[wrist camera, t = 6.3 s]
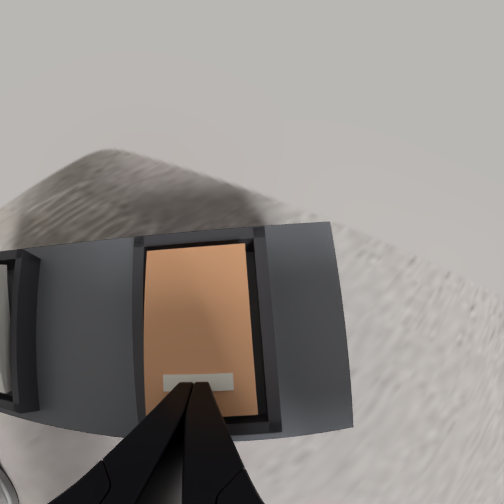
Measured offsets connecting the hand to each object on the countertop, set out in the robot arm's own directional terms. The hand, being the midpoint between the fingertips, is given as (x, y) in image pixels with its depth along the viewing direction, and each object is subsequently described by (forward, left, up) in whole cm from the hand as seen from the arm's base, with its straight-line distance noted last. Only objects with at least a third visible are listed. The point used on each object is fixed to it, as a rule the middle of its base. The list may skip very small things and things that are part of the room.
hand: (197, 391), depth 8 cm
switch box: (+2, +5, -11) cm, 13 cm away
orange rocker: (+2, 0, -1) cm, 2 cm away
